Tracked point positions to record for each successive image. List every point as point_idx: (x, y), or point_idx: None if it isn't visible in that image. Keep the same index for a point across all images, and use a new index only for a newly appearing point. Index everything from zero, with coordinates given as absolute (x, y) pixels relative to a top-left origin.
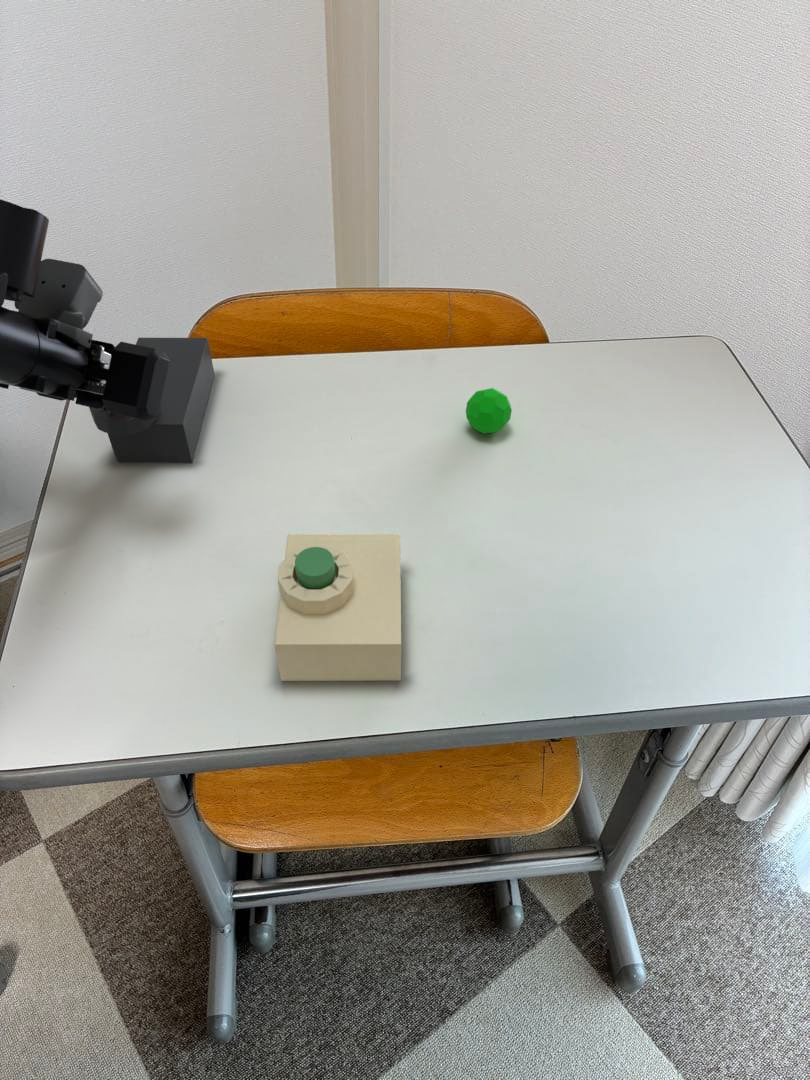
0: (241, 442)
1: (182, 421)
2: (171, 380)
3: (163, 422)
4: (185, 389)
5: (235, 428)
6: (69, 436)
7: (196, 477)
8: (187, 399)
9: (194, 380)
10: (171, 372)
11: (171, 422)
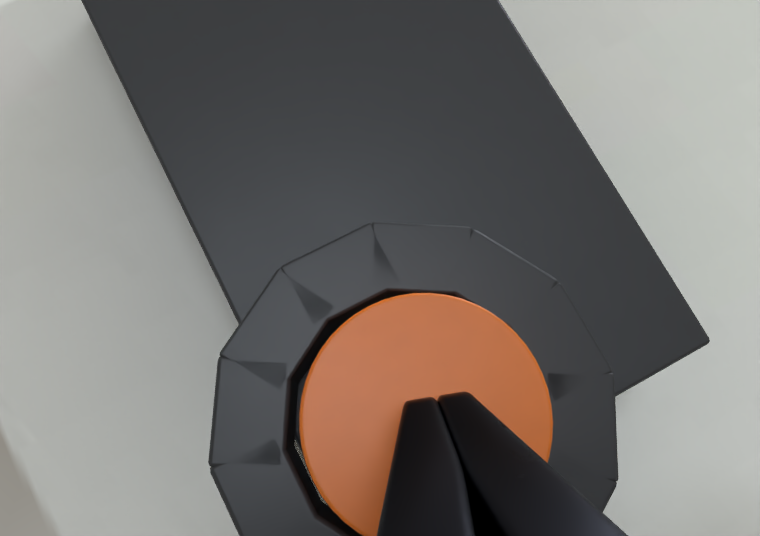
0: (684, 181)
1: (695, 324)
2: (411, 77)
3: (617, 376)
4: (524, 106)
5: (612, 125)
6: (44, 470)
7: (679, 425)
8: (588, 166)
9: (514, 30)
10: (367, 25)
11: (652, 356)
